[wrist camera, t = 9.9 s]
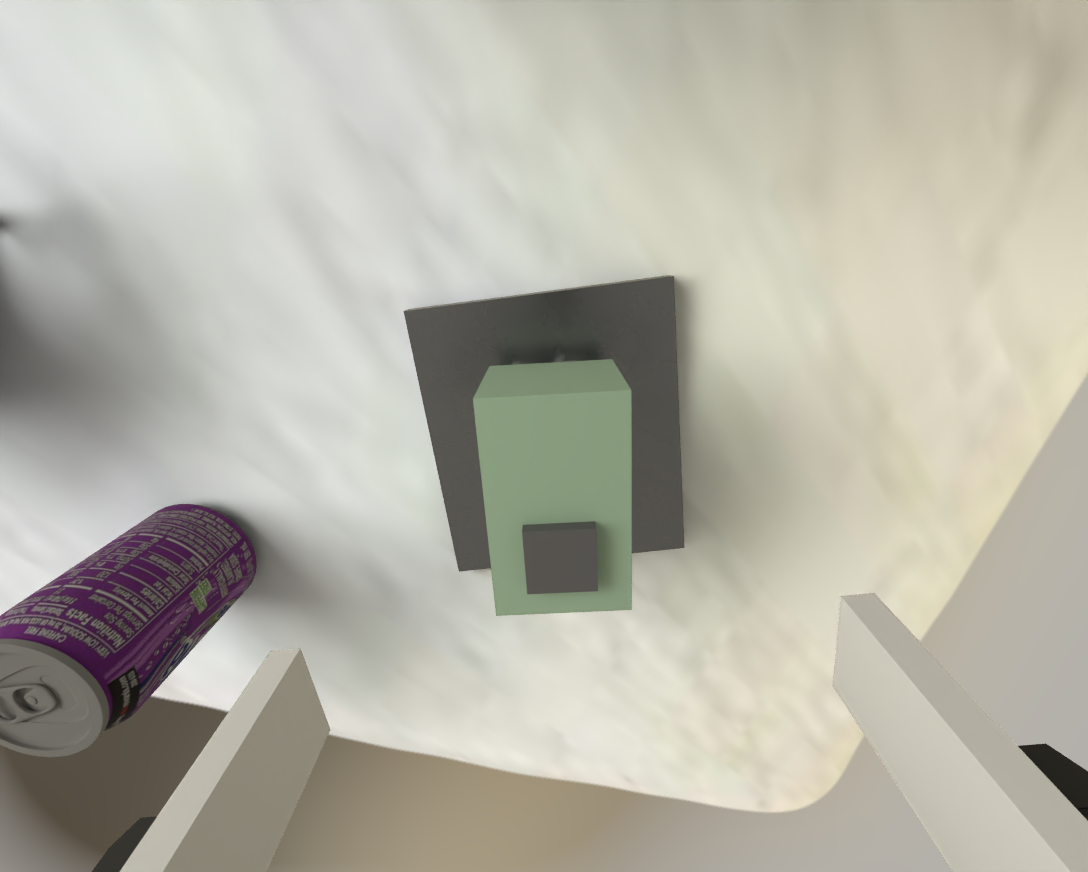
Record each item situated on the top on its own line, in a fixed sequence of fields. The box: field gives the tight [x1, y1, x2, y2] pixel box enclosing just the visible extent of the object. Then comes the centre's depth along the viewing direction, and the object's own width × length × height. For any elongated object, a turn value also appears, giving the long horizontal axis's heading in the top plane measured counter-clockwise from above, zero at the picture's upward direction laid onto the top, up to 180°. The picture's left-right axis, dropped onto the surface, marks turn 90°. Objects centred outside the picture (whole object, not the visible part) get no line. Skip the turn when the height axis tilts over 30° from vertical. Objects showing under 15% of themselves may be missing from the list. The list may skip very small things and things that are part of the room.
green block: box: [473, 359, 632, 616], centre depth 24 cm, size 10×6×7 cm, turn 3°
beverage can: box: [0, 504, 256, 757], centre depth 27 cm, size 7×7×12 cm
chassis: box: [404, 275, 684, 571], centre depth 28 cm, size 16×14×4 cm
